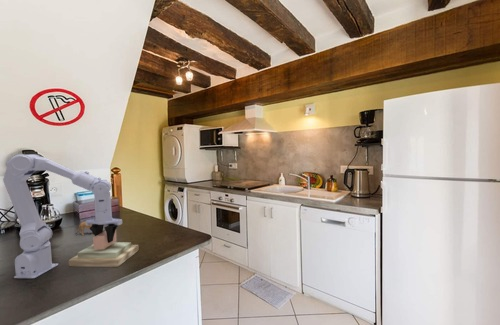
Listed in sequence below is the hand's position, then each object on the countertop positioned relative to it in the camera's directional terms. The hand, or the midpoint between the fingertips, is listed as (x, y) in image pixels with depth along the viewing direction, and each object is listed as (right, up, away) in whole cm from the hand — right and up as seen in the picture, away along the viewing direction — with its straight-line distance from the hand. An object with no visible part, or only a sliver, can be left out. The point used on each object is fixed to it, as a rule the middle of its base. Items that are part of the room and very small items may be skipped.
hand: (105, 241), depth 91 cm
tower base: (0, -7, 0) cm, 7 cm away
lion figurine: (-27, -6, +30) cm, 41 cm away
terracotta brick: (0, -2, 0) cm, 2 cm away
